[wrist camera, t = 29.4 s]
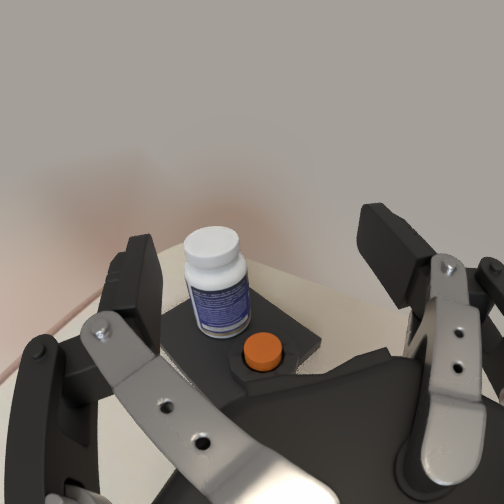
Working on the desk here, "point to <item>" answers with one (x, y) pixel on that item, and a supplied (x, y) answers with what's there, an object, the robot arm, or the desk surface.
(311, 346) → the scale
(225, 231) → the pill bottle
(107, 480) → the desk surface
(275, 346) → the button
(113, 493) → the desk surface
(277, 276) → the desk surface
